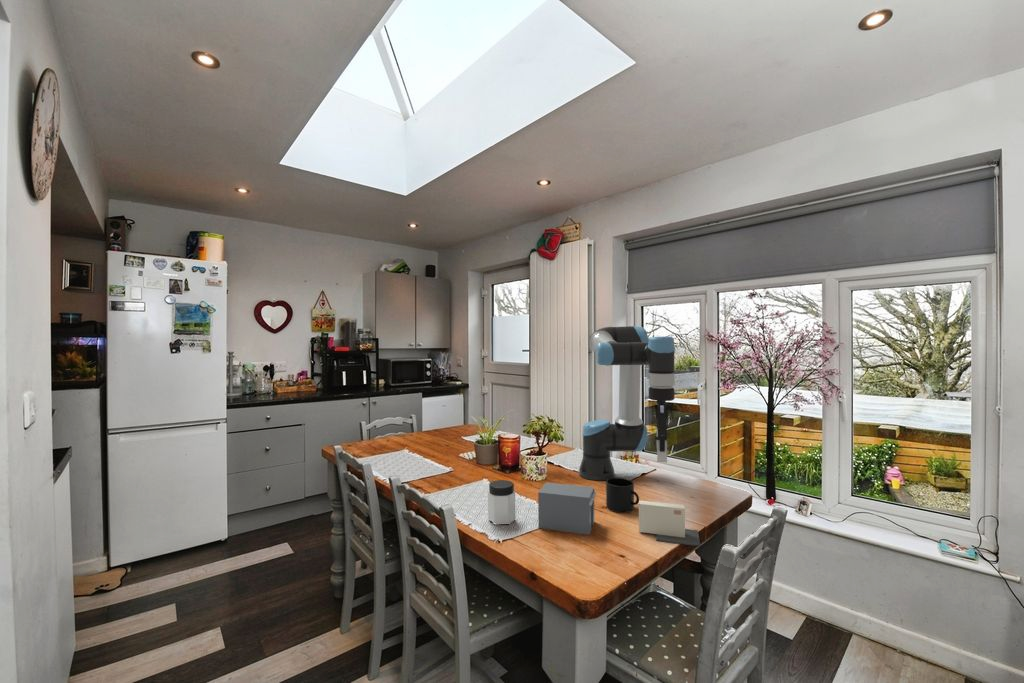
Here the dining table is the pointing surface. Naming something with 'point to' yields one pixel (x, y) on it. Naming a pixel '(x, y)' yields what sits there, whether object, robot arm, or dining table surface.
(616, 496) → the mug
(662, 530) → the cream upright slab
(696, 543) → the mat
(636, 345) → the robot arm
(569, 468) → the dining table surface
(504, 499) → the jar
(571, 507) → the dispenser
